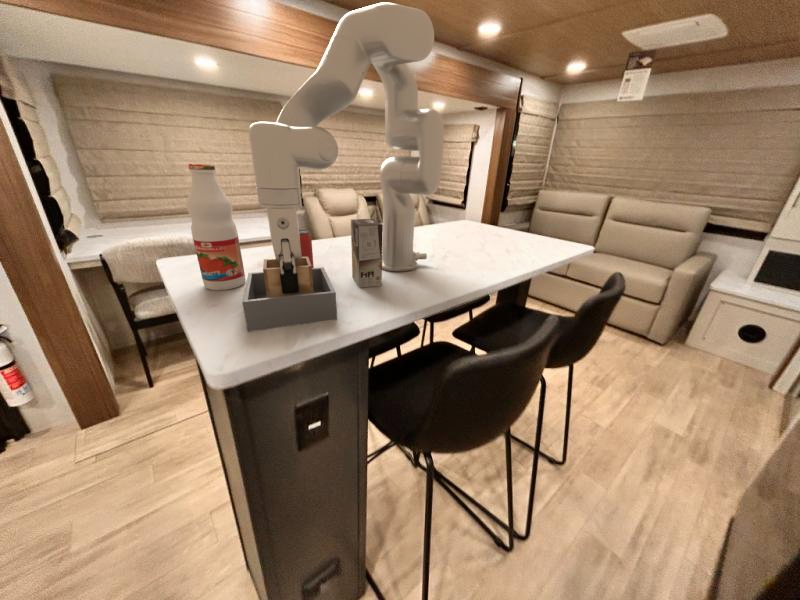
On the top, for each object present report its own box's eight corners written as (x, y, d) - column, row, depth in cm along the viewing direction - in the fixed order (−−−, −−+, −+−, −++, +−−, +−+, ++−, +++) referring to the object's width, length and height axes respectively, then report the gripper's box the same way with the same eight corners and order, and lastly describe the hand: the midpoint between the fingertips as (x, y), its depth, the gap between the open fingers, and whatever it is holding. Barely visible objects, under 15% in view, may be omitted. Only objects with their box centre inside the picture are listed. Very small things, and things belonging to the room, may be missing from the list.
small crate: (310, 286, 71) (308, 256, 68) (314, 298, 65) (311, 266, 62) (268, 290, 67) (263, 259, 65) (267, 302, 62) (262, 269, 59)
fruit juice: (253, 279, 82) (234, 165, 71) (232, 292, 74) (207, 165, 62) (219, 276, 83) (195, 163, 72) (195, 289, 74) (163, 163, 63)
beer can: (310, 277, 85) (306, 234, 80) (286, 276, 85) (281, 233, 80) (316, 270, 91) (313, 229, 86) (294, 269, 91) (290, 228, 86)
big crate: (325, 290, 77) (323, 267, 75) (337, 319, 63) (335, 292, 61) (252, 297, 72) (248, 272, 69) (247, 331, 57) (242, 301, 55)
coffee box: (382, 285, 82) (383, 224, 75) (359, 288, 79) (358, 225, 73) (372, 274, 89) (373, 218, 83) (351, 276, 87) (349, 218, 81)
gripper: (304, 203, 52) (312, 300, 59) (297, 193, 67) (304, 271, 74) (256, 203, 49) (270, 304, 57) (259, 193, 64) (270, 274, 71)
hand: (289, 285), depth 65 cm, fingers closed on small crate, 6 cm apart
